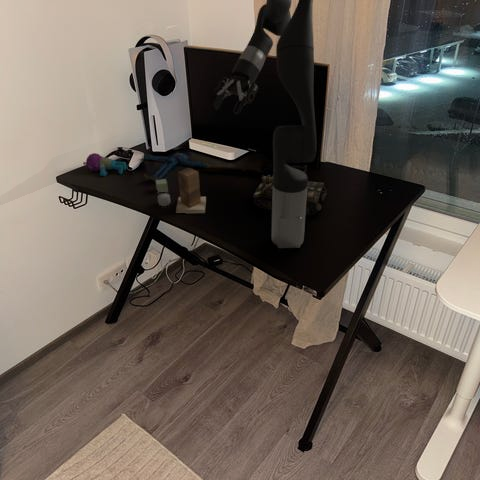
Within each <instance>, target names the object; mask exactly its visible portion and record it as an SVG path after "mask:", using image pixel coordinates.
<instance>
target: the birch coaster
mask: <svg viewBox="0 0 480 480" xmlns="http://www.w3.org/2000/svg"><path fill="white" fill-rule="evenodd" d="M200 199H201V203H199V204H197V205H195V206H193V207H191V208H190V207H187V206H185V205H183V204H181V197H180V196H178V198H177V203H176V208H175V213H186V214H205V213H206V206H207V205H206V203H207V196H200Z"/></svg>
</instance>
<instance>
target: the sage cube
mask: <svg viewBox="0 0 480 480" xmlns="http://www.w3.org/2000/svg"><path fill="white" fill-rule="evenodd" d="M155 181H156V183H155V189H156V192H157V191H158V192H157V194H158V193H159V192H165V193H169V188H168V181H167V179H166V178H164V179H163V178H162V179H161V180H155ZM159 194H160V193H159Z"/></svg>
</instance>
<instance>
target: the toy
mask: <svg viewBox="0 0 480 480" xmlns="http://www.w3.org/2000/svg"><path fill="white" fill-rule="evenodd" d="M83 165H84V166H86V167H87V168H88V169H89V170H90V171H92V172H98V171H100V172H99V176H100V177H102V176H103V177H106V176H107V175H108V171H111V170H118V171H117V172H118V174H119V175H122V174H123V171H126V170H127V162H125V161H116V160H115V159H112V158H109V157H107V156H105V157H104V156H102V155H100V154H99V153H97V152H96V153H95V152H94V153H91V154H89V155H88V156H87V158H86V161H85V162H83ZM106 170H107V171H106Z"/></svg>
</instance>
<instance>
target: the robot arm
mask: <svg viewBox="0 0 480 480" xmlns="http://www.w3.org/2000/svg"><path fill="white" fill-rule="evenodd" d="M313 1H314V0H298V2H297V5H296V7H295V9H294V12H293V14H292V16H291V12H290V8H291V6H292V0H266V2H265V3H264V4H262V5H261V7H260V8H259V10H258V13H257V18H256V22H255V28H254V30H253V33H252V36H251V38H250V40H249V41H248V43H247V45H246V46H245V48H244V50H242V53H241V54H240V55H239V58H238V59H237V62H236V63H235V65H234V67H233V69H232V72H231V73H232V75H231V76H230V78H227V77H226V76H225V75H224V76H222V77H221V79H220V80H219V81H218V83H217V85H216V86H215V88H214V90H213V92H214V93H215V94H216V97H215V99H214V101H213V104H212V107H213V108H214V109H216V110H219V109H220V107H221V105H222V104H223V101H224V99H225V98H227V97H230V96H232V95H233V96H238V99H239V100H237V102H236V103H235V106H234V107H233V109H232V112H233V114H234V115H239V114H240V113H241V112H242V109H243V108H244V106H245V105H246V104H248V105H252V102H253V101H254V99H255V96H256V94H257V92H258V90H259V87H258V85H257V84H256V82H255V81H256V80H257V78H258V76H259V74H260V72H261V70H262V68H263V67H264V63H265V61H266V59H267V57H268V55H269V54H270V51H271V50H272V48H273V46H274V41H273V39H272V38H271V36H270V35H269V34H267V32H269V33H271V34H273V35H274V36H276V37H279V39H278V41H277V43H276V48H275V49H276V50H275V51H276V74H277V77H278V79H279V80H280V82H281V84H282V85H283V87H284V88H285V90H286V92H287V93H288V94H289V96H290V97H291V99H292V100H293V102H294V104H295V106H296V108H297V110H298V113H299V117H300V121H301V125H299V124H298V125H296V124H295V125H278V126H276V127H275V129H274V131H273V135H272V162H273V164H272V165H273V166H272V167H273V168H272V175H273V196H272V210H271V242H272V243H273V244H274V245H275V246H277V248H278V249H296V248H297V249H299V248H301V245H302V244H303V243H304V239H305V226H306V225H305V224H306V215H305V214H306V200H307V186H308V181H309V177H308V174H307V173H306V174H305V173H304V172H303V171H302V170H301V169H297V168H296V167H293V168H292V166H290V165H289V164H292V163H293V164H296V163H301V164H302V163H312V162H313V161H314V160H315V159H316V154H317V148H318V147H317V126H316V125H317V124H316V116H315V115H316V114H315V99H314V91H315V90H314V83H315V82H314V79H315V78H314V77H315V74H314V73H315V58H314V57H315V55H314V54H315V52H314V50H315V47H314V29H313V25H314V24H313V6H314V5H313ZM265 30H266V31H267V32H266V31H265Z"/></svg>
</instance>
